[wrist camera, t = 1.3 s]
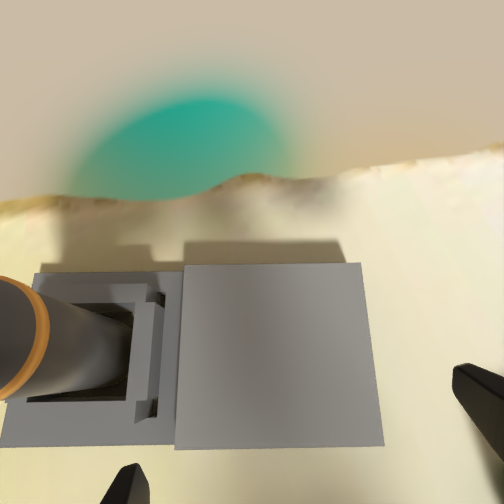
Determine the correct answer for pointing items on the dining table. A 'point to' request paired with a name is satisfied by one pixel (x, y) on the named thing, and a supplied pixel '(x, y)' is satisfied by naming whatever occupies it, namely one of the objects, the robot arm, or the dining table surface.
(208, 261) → the dining table surface
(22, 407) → the socket block
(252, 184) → the dining table surface
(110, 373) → the plug
